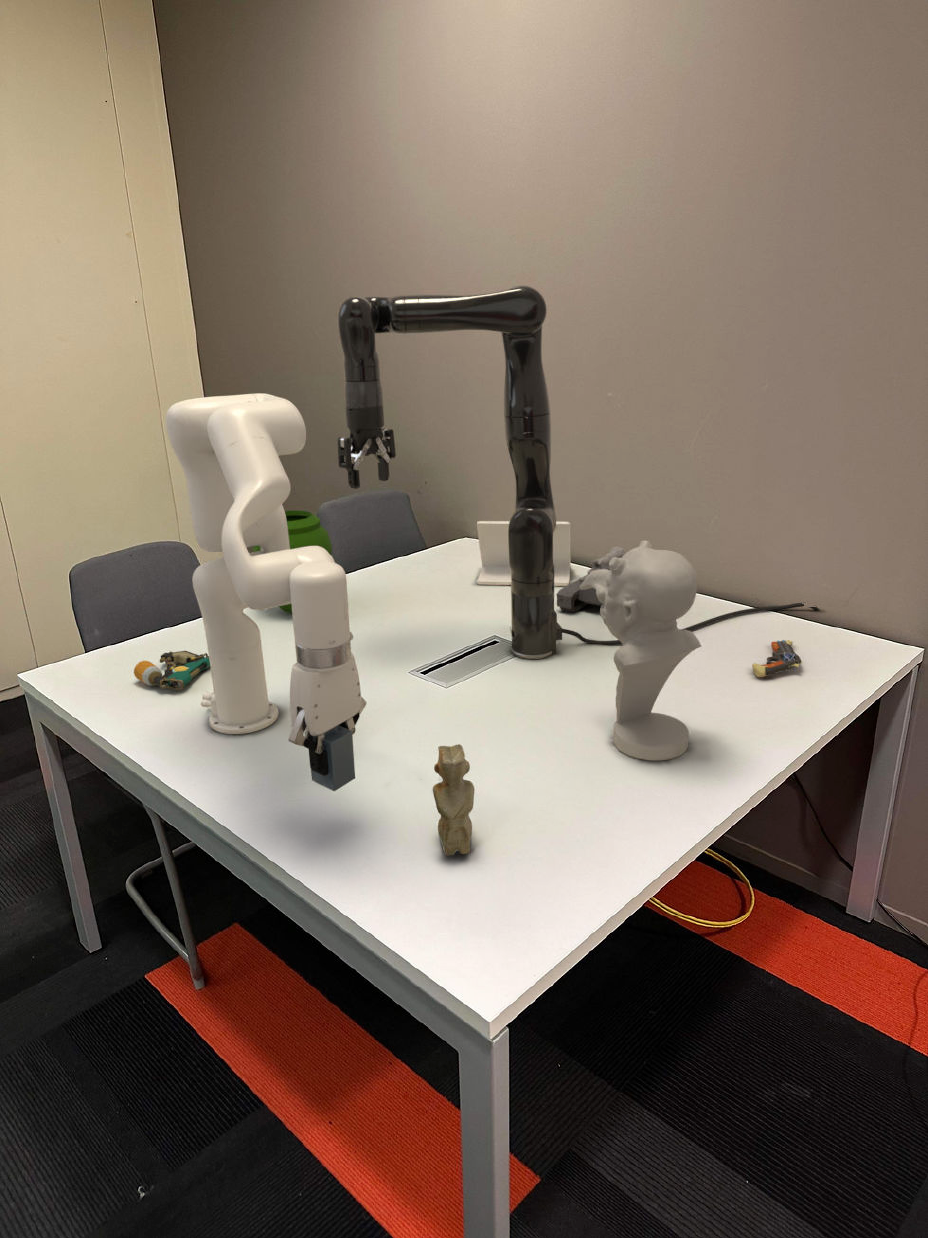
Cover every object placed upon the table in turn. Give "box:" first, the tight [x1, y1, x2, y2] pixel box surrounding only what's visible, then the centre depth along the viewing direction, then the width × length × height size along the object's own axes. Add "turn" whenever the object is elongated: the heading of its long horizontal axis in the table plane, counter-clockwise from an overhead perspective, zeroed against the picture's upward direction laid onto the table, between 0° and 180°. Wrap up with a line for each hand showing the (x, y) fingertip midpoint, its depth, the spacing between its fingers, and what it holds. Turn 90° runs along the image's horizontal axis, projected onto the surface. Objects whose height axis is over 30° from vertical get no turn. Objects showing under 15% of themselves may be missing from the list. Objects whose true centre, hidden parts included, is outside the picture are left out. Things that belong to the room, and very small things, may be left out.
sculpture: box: [432, 743, 475, 856], centre depth 119 cm, size 6×7×15 cm
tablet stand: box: [476, 520, 572, 587], centre depth 236 cm, size 18×25×17 cm
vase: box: [252, 510, 333, 615], centre depth 213 cm, size 20×20×24 cm
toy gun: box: [751, 639, 804, 678], centre depth 178 cm, size 3×19×10 cm
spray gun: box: [133, 650, 210, 690], centre depth 180 cm, size 4×17×15 cm
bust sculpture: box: [579, 540, 702, 761], centre depth 146 cm, size 16×24×35 cm
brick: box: [310, 725, 356, 792], centre depth 124 cm, size 4×5×8 cm
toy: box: [556, 546, 626, 613], centre depth 212 cm, size 25×20×15 cm
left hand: (332, 763), depth 125 cm, fingers closed on brick, 4 cm apart
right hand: (369, 484), depth 176 cm, fingers open, 8 cm apart
